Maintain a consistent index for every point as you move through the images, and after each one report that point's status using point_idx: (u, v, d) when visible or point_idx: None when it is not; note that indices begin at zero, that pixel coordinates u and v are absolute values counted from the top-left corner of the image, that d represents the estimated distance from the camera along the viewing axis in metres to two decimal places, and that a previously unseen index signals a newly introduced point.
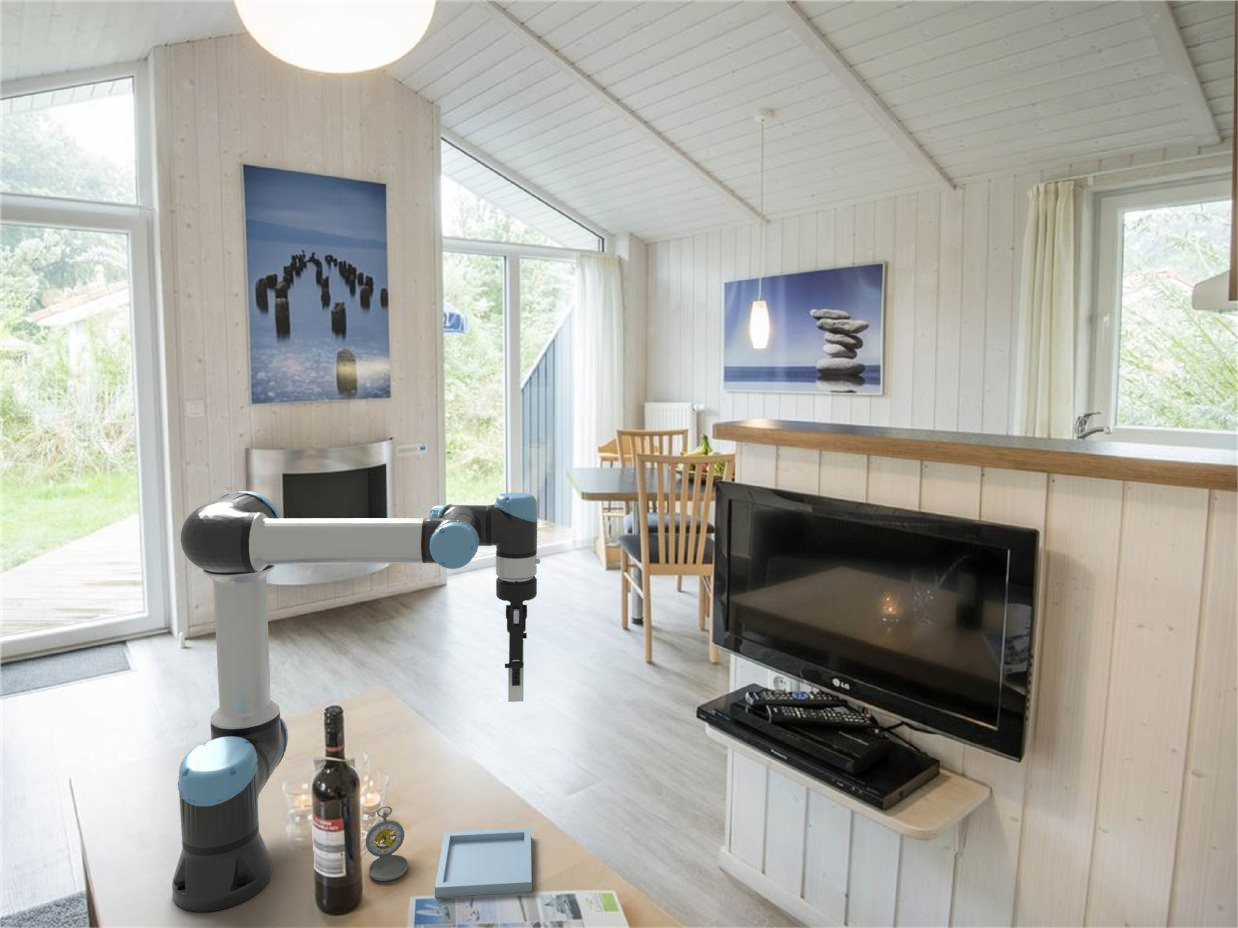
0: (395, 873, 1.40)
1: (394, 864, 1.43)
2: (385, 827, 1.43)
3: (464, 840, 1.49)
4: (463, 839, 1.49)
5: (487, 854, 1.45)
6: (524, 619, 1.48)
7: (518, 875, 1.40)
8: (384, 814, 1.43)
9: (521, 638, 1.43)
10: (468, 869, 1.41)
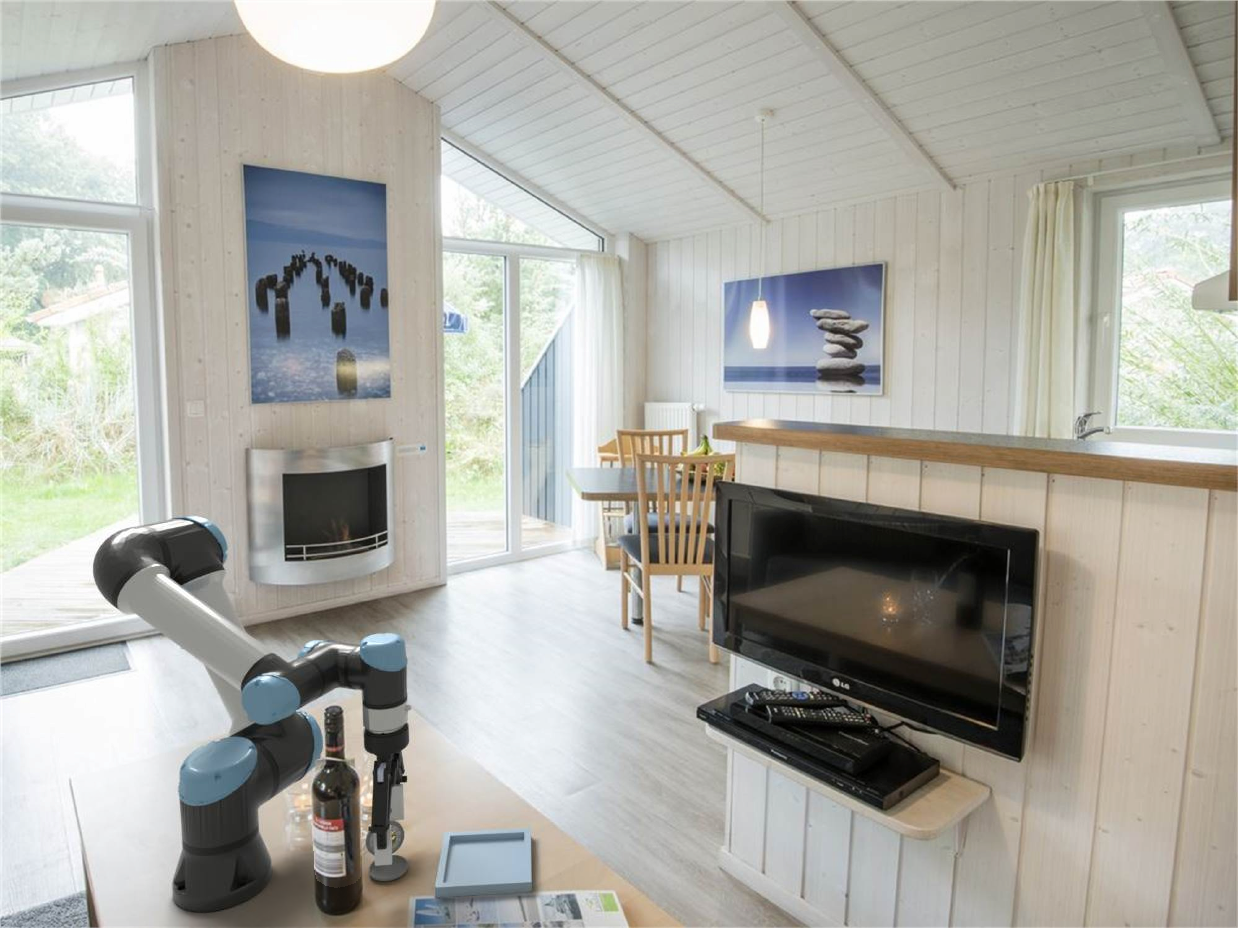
0: (395, 873, 1.40)
1: (394, 864, 1.43)
2: None
3: (464, 840, 1.49)
4: (463, 839, 1.49)
5: (487, 854, 1.45)
6: (393, 772, 1.37)
7: (518, 875, 1.40)
8: None
9: (385, 798, 1.32)
10: (468, 869, 1.41)
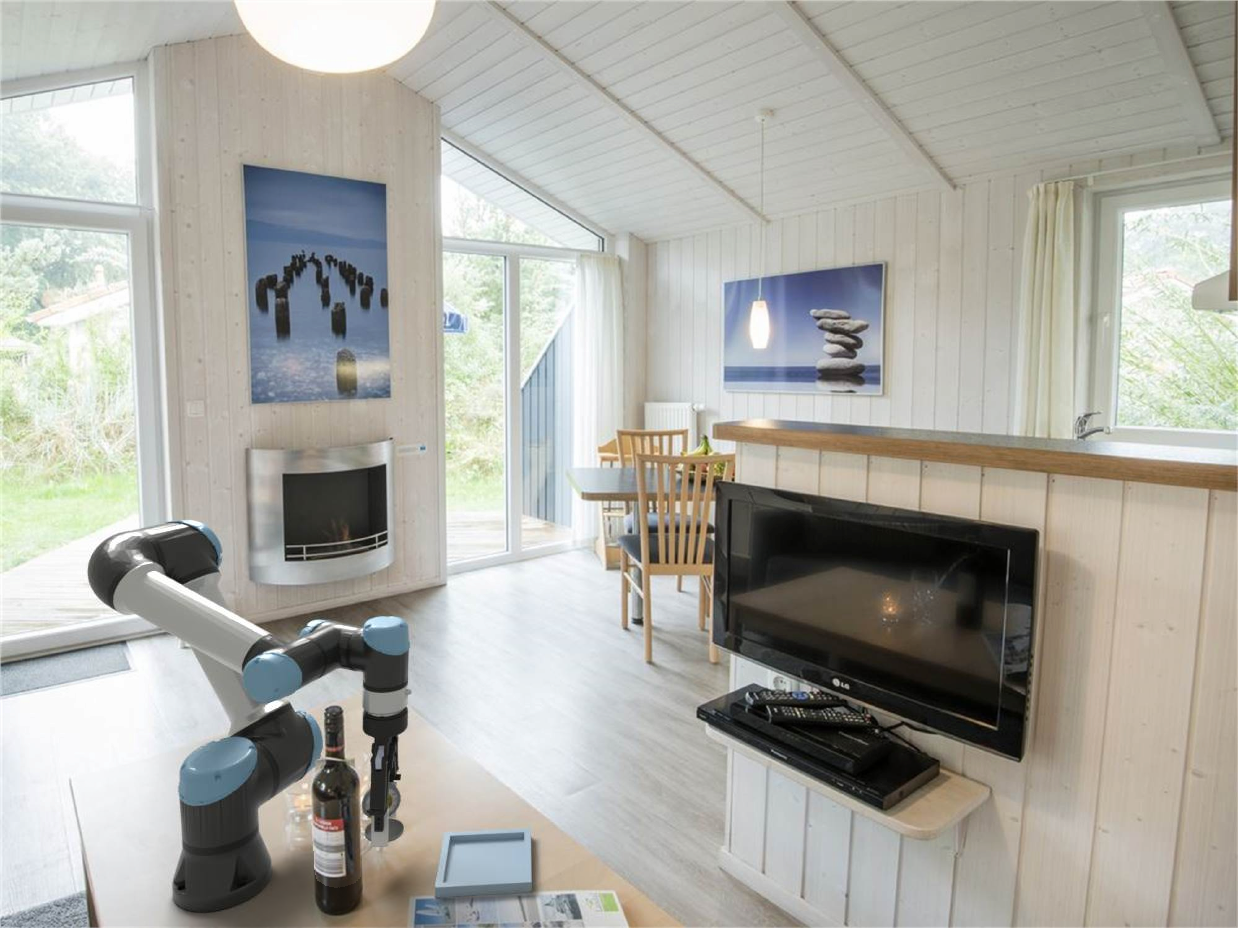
0: (391, 836, 1.40)
1: (390, 827, 1.43)
2: None
3: (464, 840, 1.49)
4: (463, 839, 1.49)
5: (487, 854, 1.45)
6: (391, 757, 1.37)
7: (518, 875, 1.40)
8: None
9: (383, 785, 1.33)
10: (468, 869, 1.41)
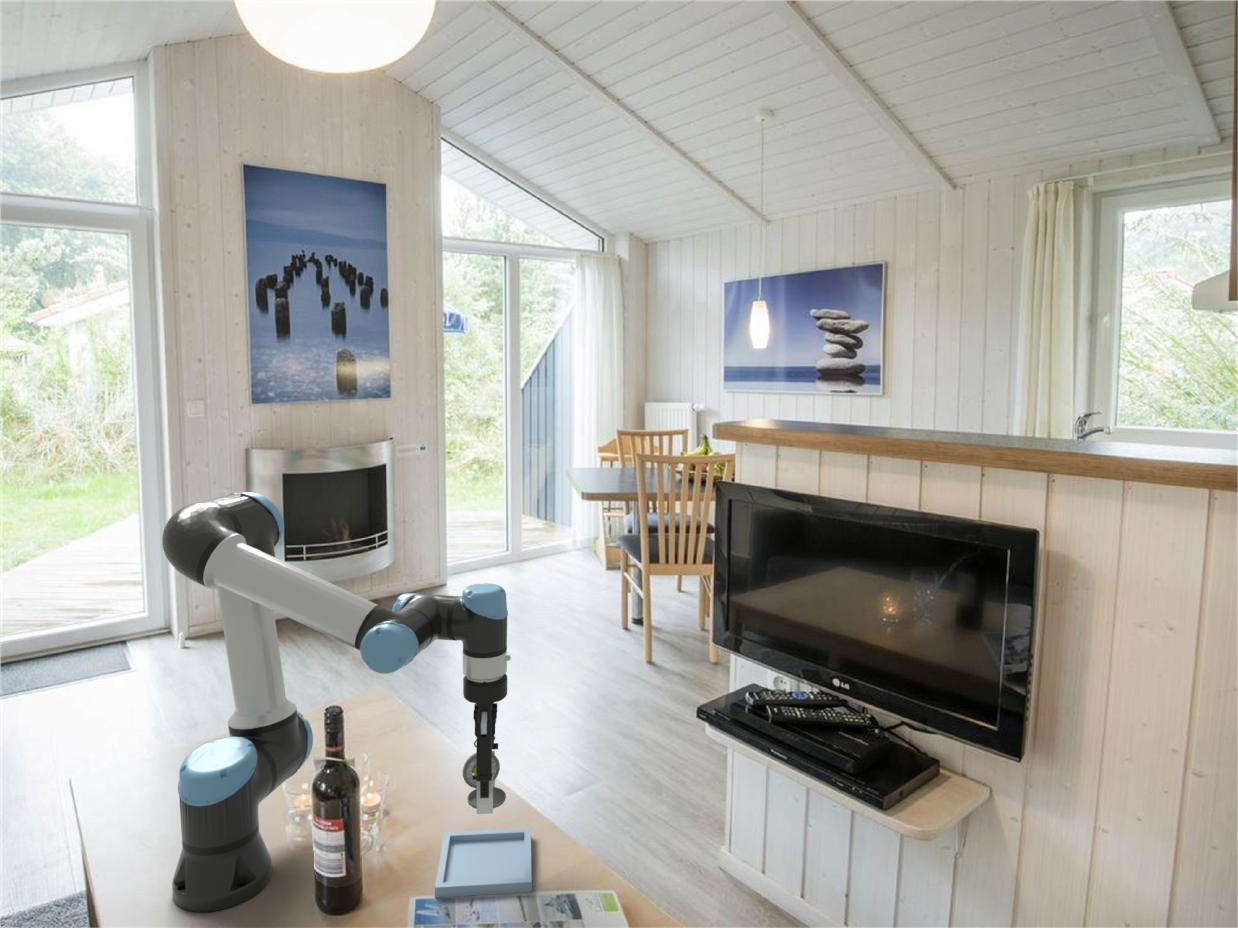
0: (494, 803, 1.40)
1: None
2: None
3: (464, 840, 1.49)
4: (463, 839, 1.49)
5: (487, 854, 1.45)
6: (493, 723, 1.38)
7: (518, 875, 1.40)
8: None
9: (489, 750, 1.33)
10: (468, 869, 1.41)
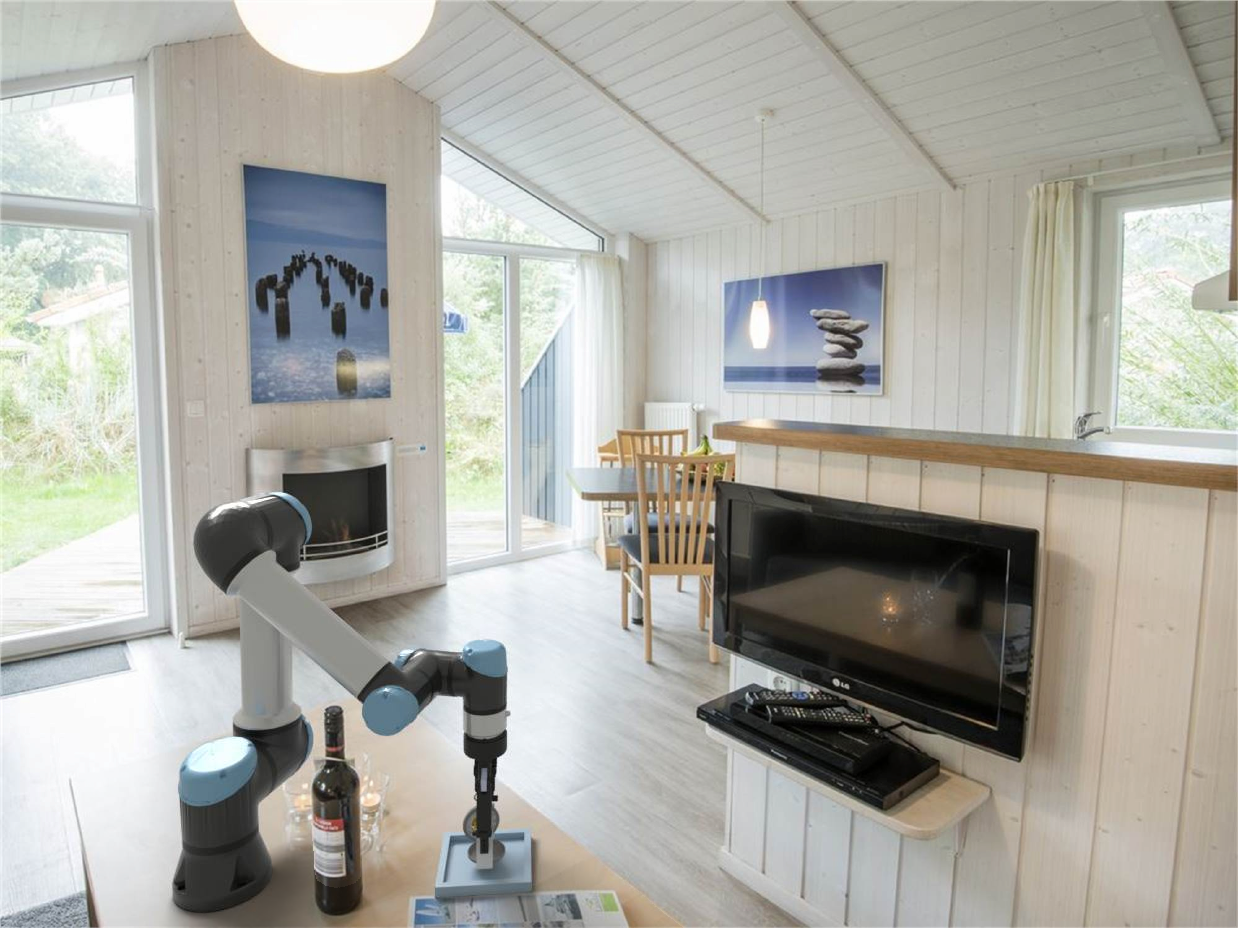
0: (494, 857, 1.41)
1: None
2: None
3: (464, 840, 1.49)
4: (463, 839, 1.49)
5: None
6: (493, 779, 1.39)
7: (518, 875, 1.40)
8: None
9: (489, 807, 1.35)
10: (468, 869, 1.41)
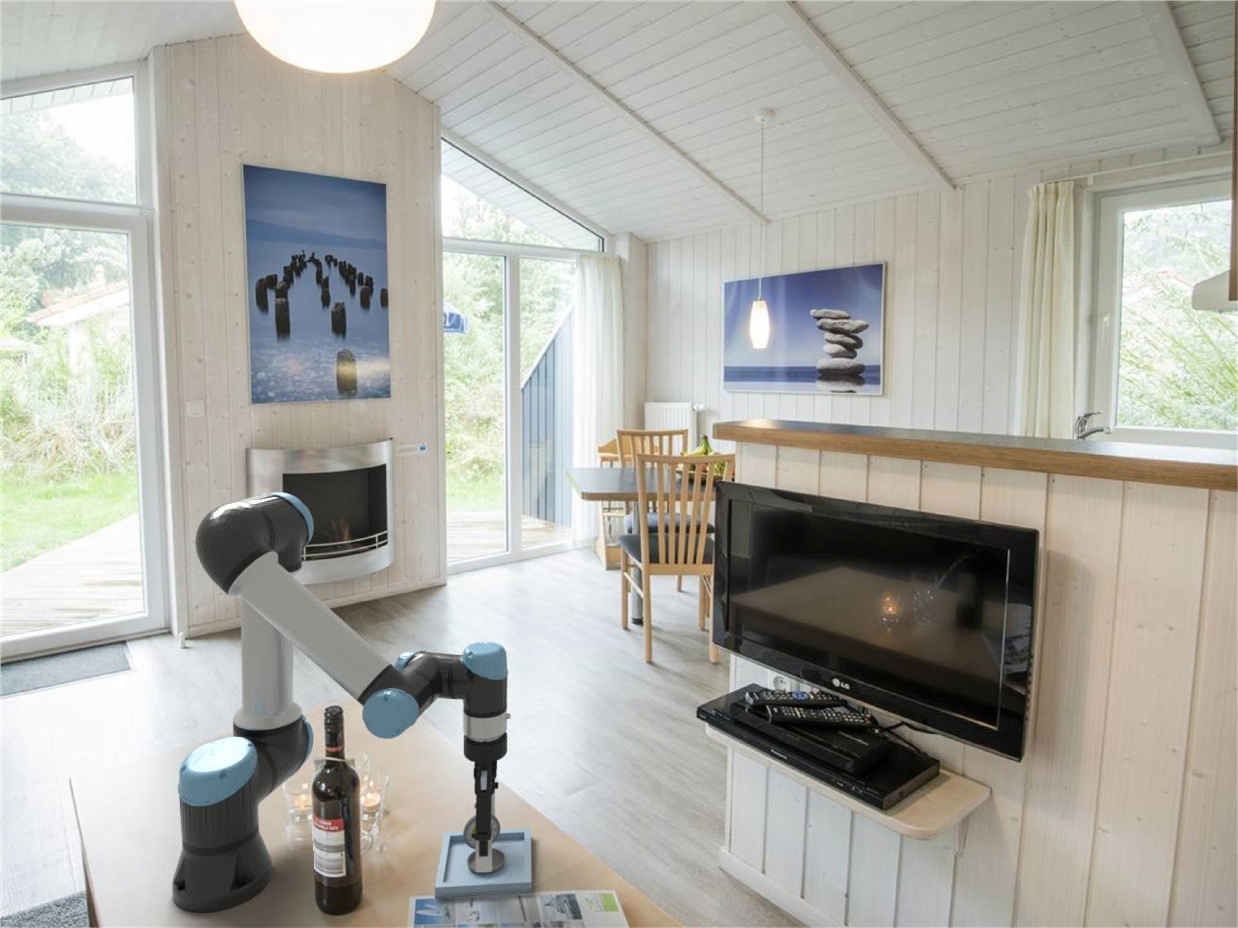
0: (493, 866, 1.42)
1: None
2: None
3: None
4: (463, 839, 1.49)
5: None
6: (493, 780, 1.38)
7: (518, 875, 1.40)
8: None
9: (489, 806, 1.33)
10: (468, 869, 1.41)
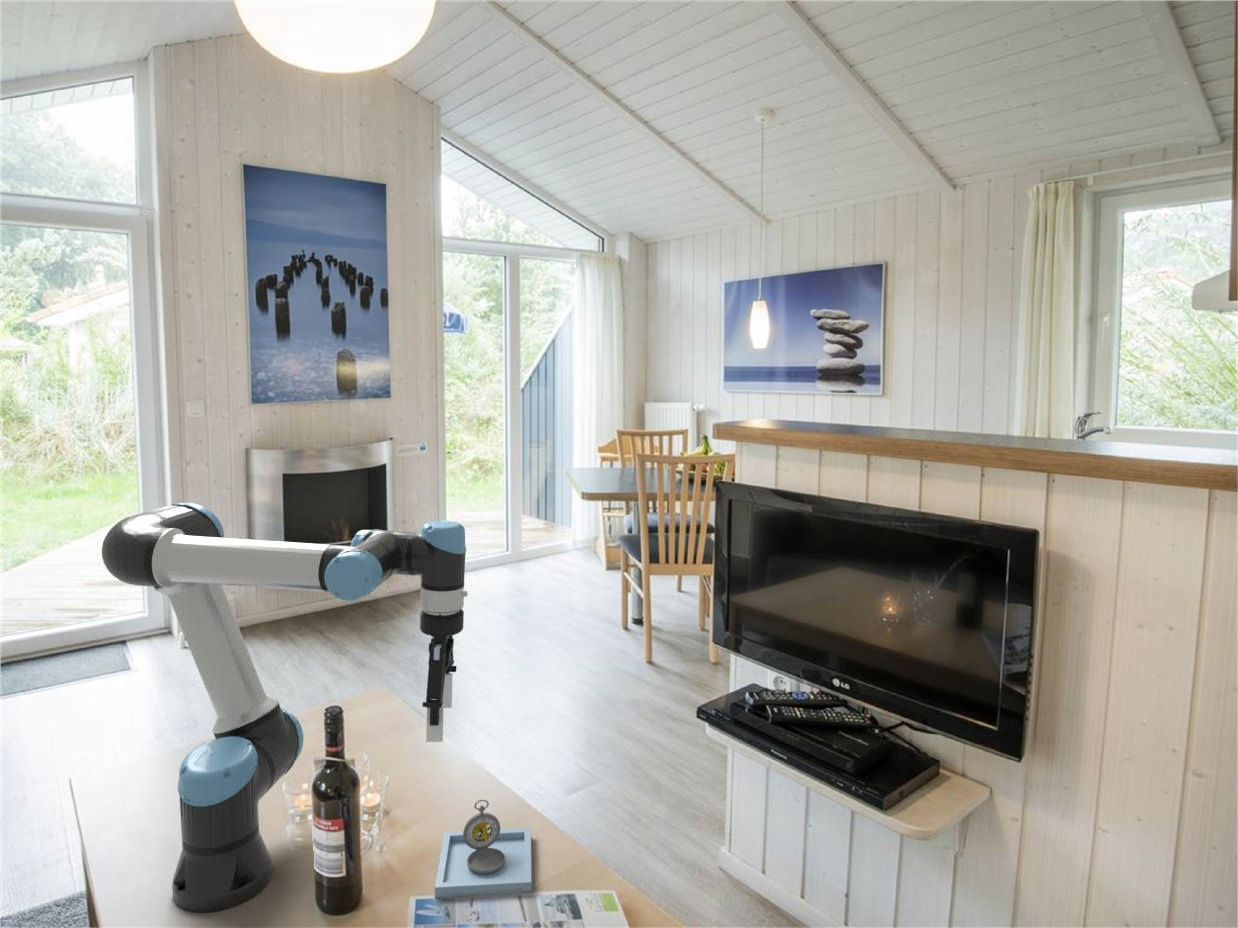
0: (493, 866, 1.42)
1: (491, 857, 1.44)
2: (482, 820, 1.45)
3: None
4: (463, 839, 1.49)
5: None
6: (447, 655, 1.41)
7: (518, 875, 1.40)
8: (482, 807, 1.45)
9: (440, 676, 1.36)
10: (468, 869, 1.41)
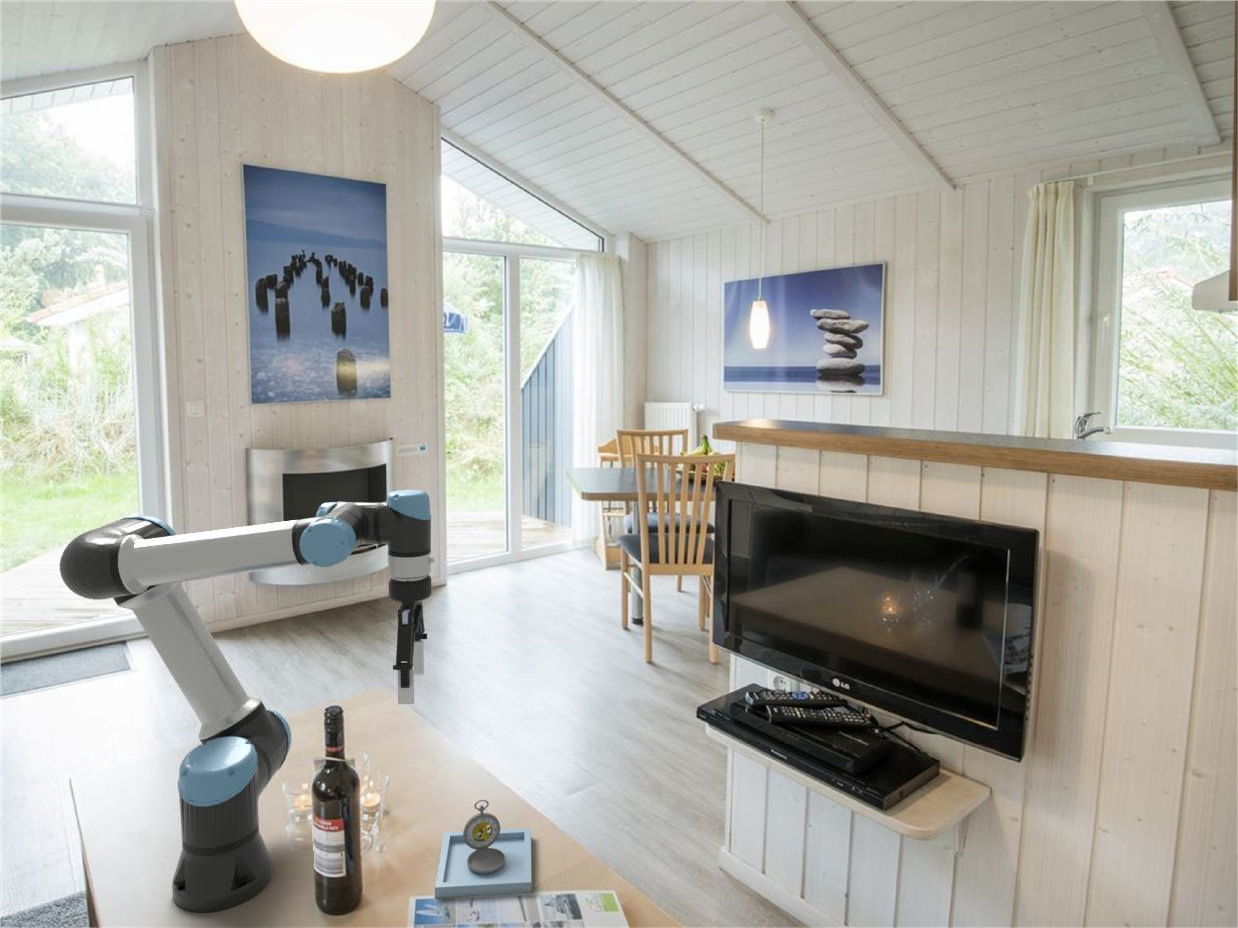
0: (493, 866, 1.42)
1: (491, 857, 1.44)
2: (482, 820, 1.45)
3: None
4: (463, 839, 1.49)
5: None
6: (416, 619, 1.45)
7: (518, 875, 1.40)
8: (482, 807, 1.45)
9: (409, 639, 1.40)
10: (468, 869, 1.41)
